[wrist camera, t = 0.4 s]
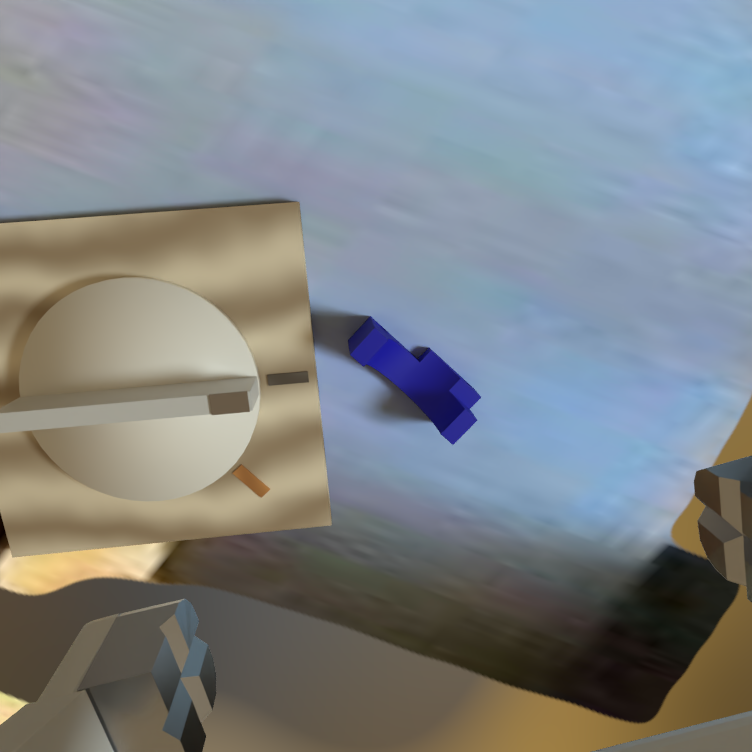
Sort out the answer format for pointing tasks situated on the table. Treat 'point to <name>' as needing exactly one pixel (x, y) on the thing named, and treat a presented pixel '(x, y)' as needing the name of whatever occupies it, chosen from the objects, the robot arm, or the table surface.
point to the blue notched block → (418, 378)
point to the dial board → (247, 311)
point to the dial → (137, 389)
